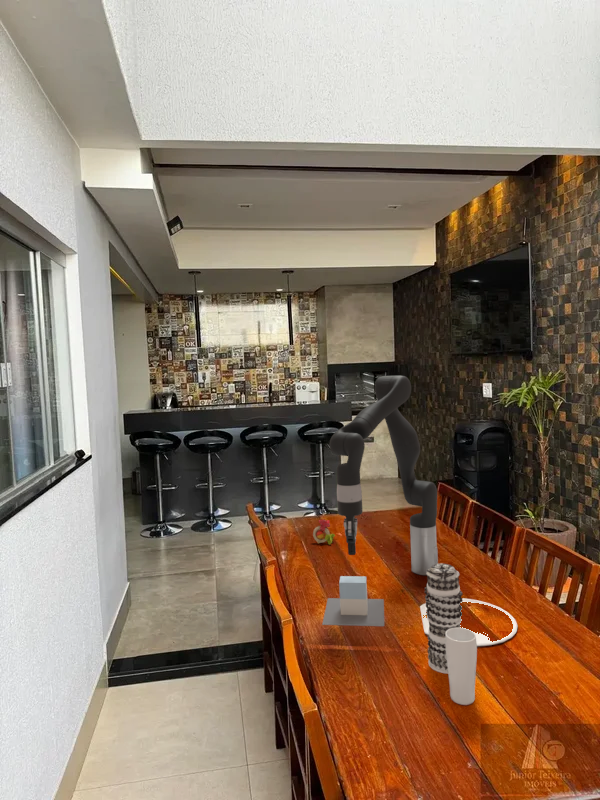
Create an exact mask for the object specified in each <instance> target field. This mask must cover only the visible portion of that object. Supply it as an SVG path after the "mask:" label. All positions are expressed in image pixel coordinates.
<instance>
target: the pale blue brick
mask: <svg viewBox="0 0 600 800" xmlns="http://www.w3.org/2000/svg"><path fill="white" fill-rule="evenodd" d="M338 585H339V590H338V591H339V598H340V599H368V588H367V576H364V575H363V576H355V575H353V576H352V575H349V576H348V575H344V576H343V575H340V576H339V582H338Z"/></svg>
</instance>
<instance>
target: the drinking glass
mask: <svg viewBox="0 0 600 800" xmlns="http://www.w3.org/2000/svg"><path fill="white" fill-rule="evenodd" d="M445 649H446V659H447V667H448V675H447V676H448V683H449V697H450V699H451V701H453V703H456V704H458V705H461V706H469V705H472V704H473V703H474V701H475V699H476V696H475V695H476V693H475V692H476V691H475V690H476V675H477V674H476V673H477V671H476V670H477V660H478V659H477V658H478V646H477V642H476V635H475V633H474V632H473V631H471V630H469V629H466V628H460V627H456V628H450V629H448V630H447V631H446V633H445Z"/></svg>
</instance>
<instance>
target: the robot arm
mask: <svg viewBox="0 0 600 800" xmlns="http://www.w3.org/2000/svg"><path fill="white" fill-rule="evenodd" d="M374 392H375V396H376V400H377V401H375V402H373V403H371V404H369V405H368V406H366V407H364V408H363V409H362V410H361V411H360V412H359V413H357V415H356V416H355V417H354V418H353V419H352V421H351V422H349V423H347V424H345V425H344V426H342V427H341V428H339V429H337V430H336V431H335V432H334V433H333V434H332V435H331V438H330V440H329V449H330V451H331V452H332V453H333V454H334V455H336V456H341V457H342V456H343V457H347V461H346V462H343V463H340V464H338V465H337V466H336V484H337V485H336V504H337V514H338V515H339V516H342V517H345V518H344V519H343V527H344V536H345V538H346V544H347V553H348V554H347V555H349V556H355V555H356V553H357V552H356V542H357V538H356V537H357V534H358V518H357V517H356V516H360V515H362V514H363V513H364V510H363V491H362V485H361V466H362V462H363V457H364V453H365V452H364V451H365V439H368V438H369V436H370V435H371V434H372V433H373V432H374V431H375V430H376V428H377V427H379V424H381V423H382V422H383V421H385V423H386V426H387V430H388V433H389V436H390V437H389V438H390V441H391V445H392V447H393V452H394V455H395V459H396V462H397V465H398V469H399V473H400V480H401V485H402V490H403V491H402V493H403V495H404V499H405V500H406V503H407V504H409V505H412V506H416V507H422V508H421V512H420V513H416V514H415V513H414V514H413V515H411V516H410V518H409V527H410V528H409V531H410V533H409V535H410V557H411V559H410V560H411V561H410V563H411V572H412V573H414V574H417V575H420V576H428V575H427V574H426V571H427V570H428V569H430V567H431V566H432V565H434V564H439V557H438V555H439V554H438V553H439V552H438V545H437V516H438V489H437V486H436V484H435V483H434V482H432V481H426V480H418V479H417V477H416V475H415V465H416V463H417V461H418V459H419V456H420V454H421V445H420V441H419V437H418V434H417V431H416V430H415V428H414V426H412V424H411V423H410V422H409V421H408V420H407V419H406V417H405V416H404V415H403V414H402V413H401V412H400V411H399V407H400V406H402V405H403V404H404V403H406V402H407V401H408V400H409V398H410V396H411V394H412V384H411V381H410V379H409V378H408V377H407V376H405V375H383V376H379V377H377V379H376V380H375V383H374ZM355 517H356V518H355Z"/></svg>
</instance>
